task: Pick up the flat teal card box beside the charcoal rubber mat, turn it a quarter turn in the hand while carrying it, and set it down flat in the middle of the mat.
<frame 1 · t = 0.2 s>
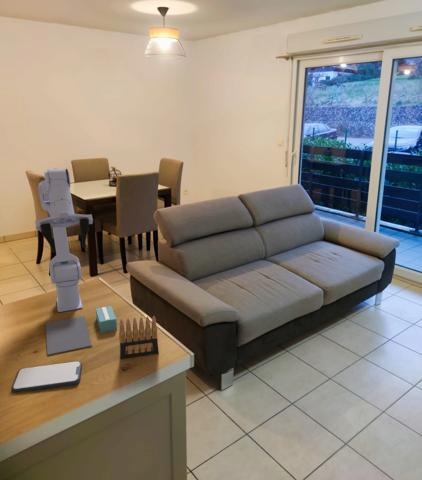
hand: (69, 248, 102), 31 cm above the kitchen counter, tool tilted 45°, fingers open, 7 cm apart
mat: (67, 334, 118), on the kitchen counter
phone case: (48, 379, 100), on the kitchen counter
card box: (106, 324, 125), on the kitchen counter
ammunition clip: (139, 355, 110), on the kitchen counter
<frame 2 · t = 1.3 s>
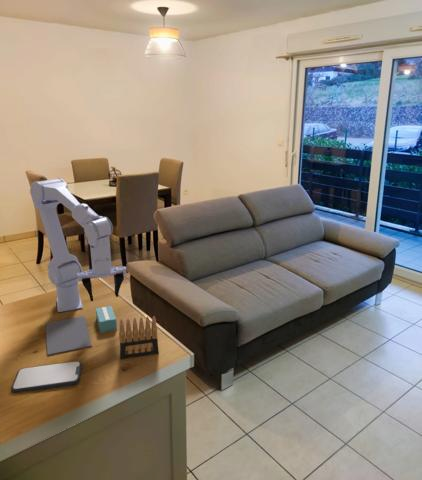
hand: (104, 297, 122), 9 cm above the kitchen counter, tool pointing down, fingers open, 7 cm apart
nothing on the kitchen counter moved.
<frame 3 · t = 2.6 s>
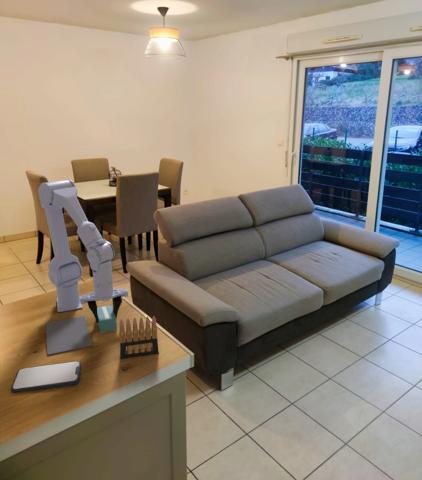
hand: (106, 319, 124), 2 cm above the kitchen counter, tool pointing down, fingers closed on card box, 5 cm apart
card box: (106, 323, 125), on the kitchen counter, touching gripper
everything else where it was.
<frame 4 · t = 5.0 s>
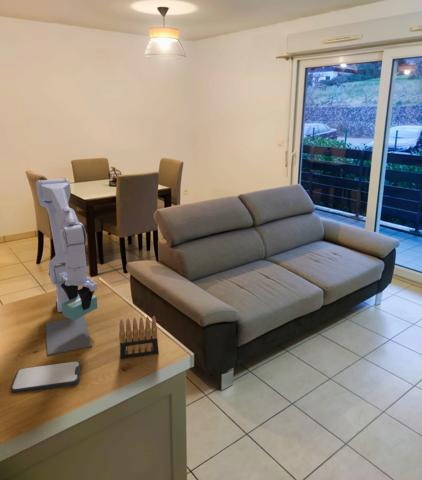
hand: (80, 306, 118), 9 cm above the kitchen counter, tool pointing down, fingers closed on card box, 5 cm apart
card box: (80, 311, 119), point 7 cm above the kitchen counter, touching gripper
everything else where it was.
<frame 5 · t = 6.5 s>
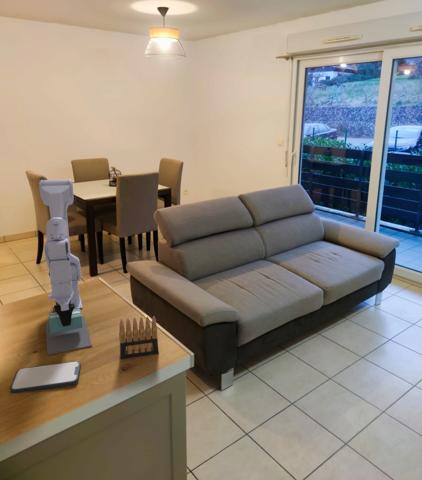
hand: (65, 320, 117), 5 cm above the kitchen counter, tool pointing down, fingers closed on card box, 5 cm apart
card box: (66, 326, 117), point 3 cm above the kitchen counter, touching gripper
everything else where it was.
when the fingers open (3 cm above the kitchen counter, at t = 7.8 s): card box stays where it is, resting on mat.
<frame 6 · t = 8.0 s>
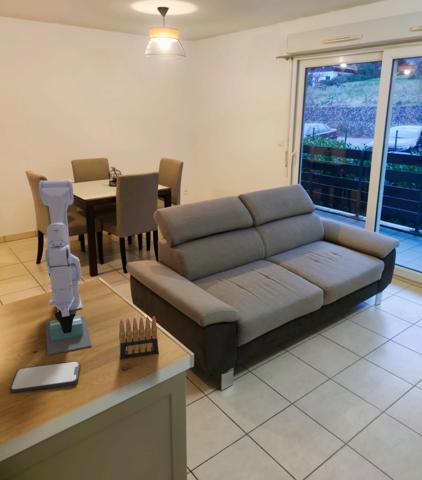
hand: (66, 326, 117), 3 cm above the kitchen counter, tool pointing down, fingers open, 7 cm apart
card box: (67, 333, 118), resting on mat
everything else where it was.
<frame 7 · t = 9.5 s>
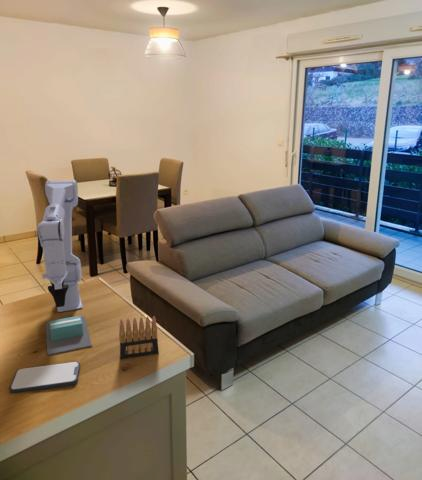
hand: (59, 300, 119), 9 cm above the kitchen counter, tool pointing down, fingers open, 7 cm apart
nothing on the kitchen counter moved.
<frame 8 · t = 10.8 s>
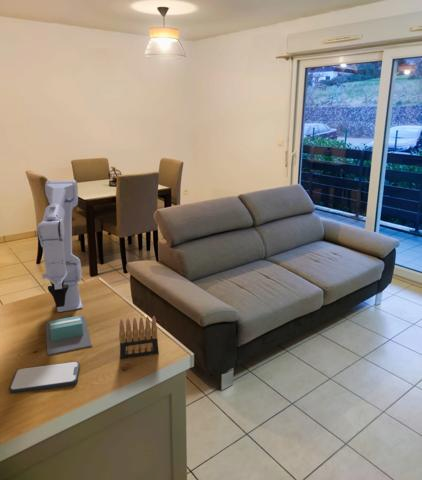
hand: (59, 300, 119), 9 cm above the kitchen counter, tool pointing down, fingers open, 7 cm apart
nothing on the kitchen counter moved.
at the end: card box inside the target area on the mat (0.1 cm from its centre), point 0.4 cm above the mat's base; card box touching mat; card box tilted 0° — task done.
